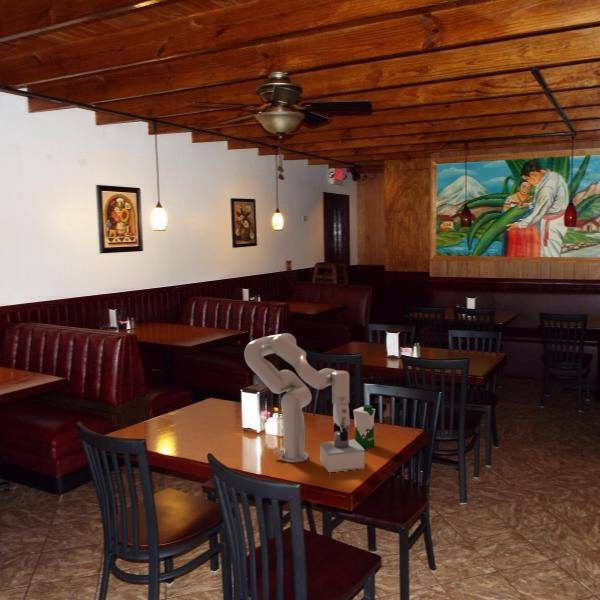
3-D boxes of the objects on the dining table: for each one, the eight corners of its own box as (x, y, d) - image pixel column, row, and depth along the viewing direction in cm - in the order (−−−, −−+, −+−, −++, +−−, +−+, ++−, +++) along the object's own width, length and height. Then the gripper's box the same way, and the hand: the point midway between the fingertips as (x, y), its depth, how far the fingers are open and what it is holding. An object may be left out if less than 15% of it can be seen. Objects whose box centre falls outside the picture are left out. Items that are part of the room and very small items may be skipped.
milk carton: (367, 450, 289) (366, 409, 287) (351, 446, 295) (350, 406, 293) (377, 445, 296) (376, 404, 294) (361, 441, 302) (361, 401, 300)
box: (328, 473, 262) (328, 455, 262) (320, 461, 276) (319, 444, 275) (364, 469, 266) (364, 451, 265) (354, 458, 280) (353, 441, 279)
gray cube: (336, 449, 266) (336, 435, 266) (332, 444, 272) (332, 431, 272) (350, 447, 268) (350, 434, 267) (346, 443, 274) (346, 430, 273)
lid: (328, 455, 261) (328, 453, 261) (319, 444, 275) (319, 442, 275) (364, 451, 265) (364, 449, 265) (354, 441, 279) (354, 439, 279)
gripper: (355, 403, 261) (355, 442, 262) (342, 393, 277) (342, 430, 279) (338, 405, 259) (338, 444, 261) (326, 394, 275) (326, 431, 277)
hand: (340, 437), depth 270 cm, fingers open, 9 cm apart
